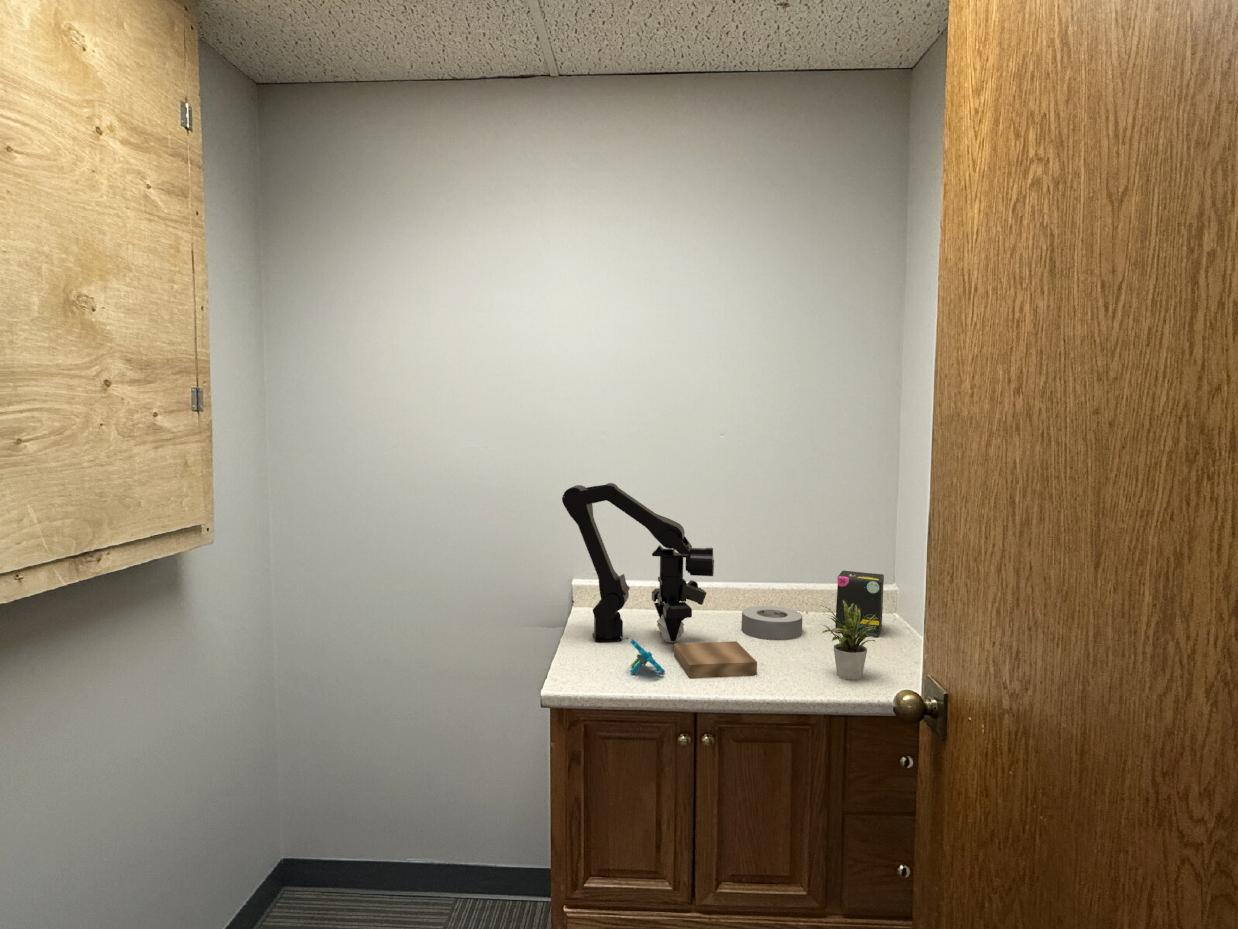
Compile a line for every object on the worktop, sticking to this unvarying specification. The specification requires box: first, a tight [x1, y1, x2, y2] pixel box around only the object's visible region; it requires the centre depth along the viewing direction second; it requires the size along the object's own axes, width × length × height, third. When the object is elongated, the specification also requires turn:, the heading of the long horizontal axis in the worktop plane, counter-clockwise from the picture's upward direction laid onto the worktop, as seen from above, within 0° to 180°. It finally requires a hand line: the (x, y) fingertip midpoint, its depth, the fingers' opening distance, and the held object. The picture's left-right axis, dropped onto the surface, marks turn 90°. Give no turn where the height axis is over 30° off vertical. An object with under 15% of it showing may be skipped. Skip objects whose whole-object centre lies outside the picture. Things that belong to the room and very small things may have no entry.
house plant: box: [819, 601, 877, 681], centre depth 174 cm, size 14×14×16 cm
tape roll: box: [741, 605, 803, 641], centre depth 206 cm, size 15×15×5 cm
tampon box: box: [834, 570, 885, 638], centre depth 207 cm, size 11×9×15 cm
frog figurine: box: [656, 616, 685, 644], centre depth 196 cm, size 6×7×7 cm
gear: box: [629, 638, 666, 675], centre depth 174 cm, size 11×6×10 cm
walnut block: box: [673, 640, 758, 679], centre depth 179 cm, size 15×15×4 cm
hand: (670, 637), depth 196 cm, fingers closed on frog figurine, 6 cm apart
